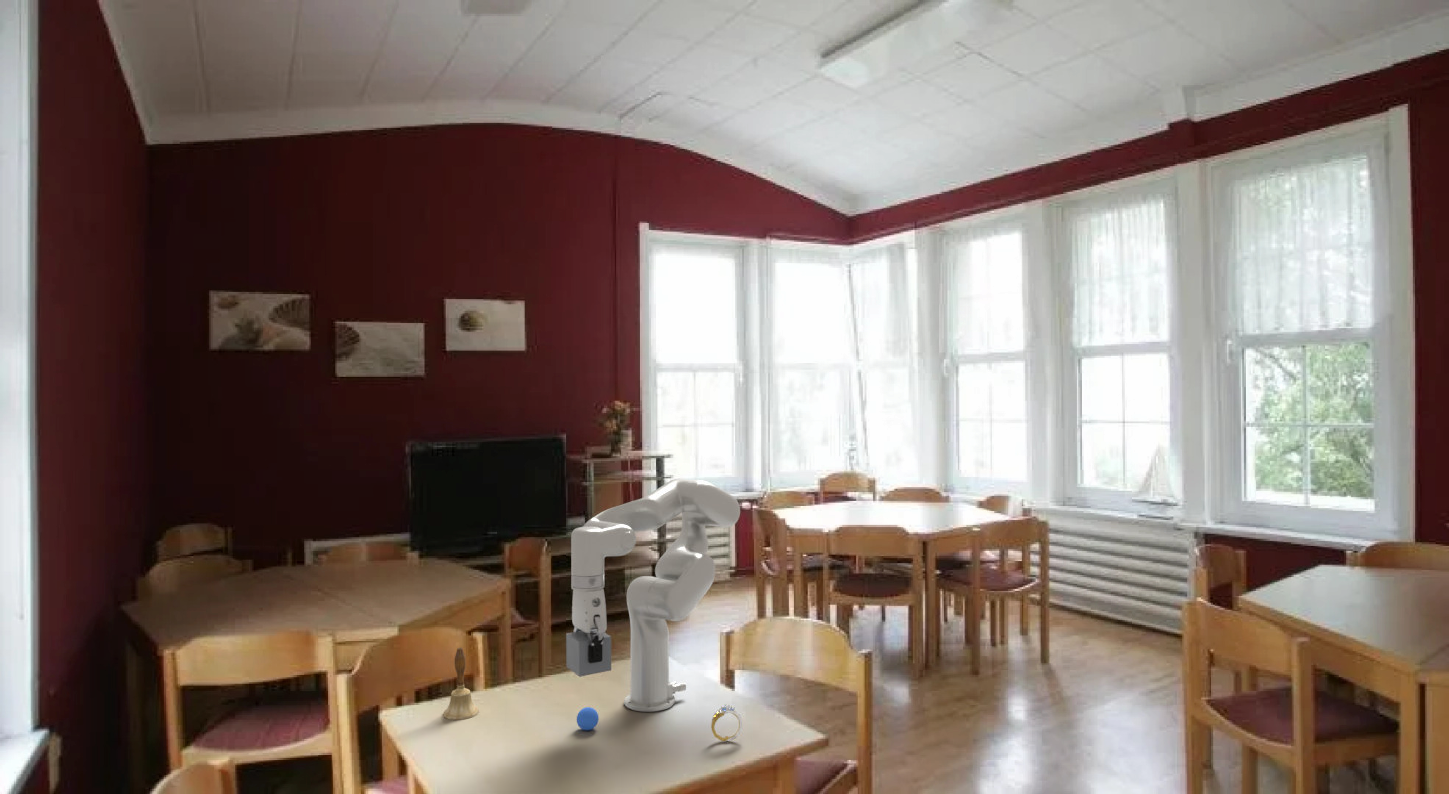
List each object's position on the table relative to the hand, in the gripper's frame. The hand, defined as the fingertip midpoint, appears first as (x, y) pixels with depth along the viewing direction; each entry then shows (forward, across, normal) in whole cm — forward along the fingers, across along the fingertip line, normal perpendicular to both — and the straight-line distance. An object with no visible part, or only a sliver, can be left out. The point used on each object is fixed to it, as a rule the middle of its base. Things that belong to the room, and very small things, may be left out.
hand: (587, 656), depth 198 cm
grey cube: (+3, 0, 0) cm, 3 cm away
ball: (+14, 0, 0) cm, 14 cm away
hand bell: (+17, +26, +22) cm, 38 cm away
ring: (+17, -22, -24) cm, 37 cm away
